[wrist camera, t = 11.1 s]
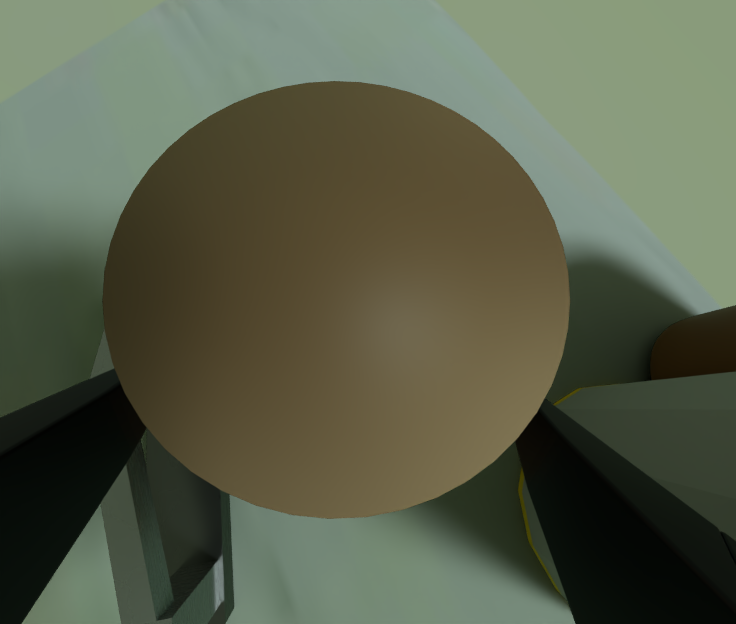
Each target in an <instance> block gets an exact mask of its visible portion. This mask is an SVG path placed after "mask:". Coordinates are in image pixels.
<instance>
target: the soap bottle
mask: <svg viewBox="0 0 736 624" xmlns="http://www.w3.org/2000/svg"><path fill="white" fill-rule="evenodd" d="M553 405H555V406H556V407H557V408H559V409H560V410H561V411H563V412H564V413H565V414H567V415H568V416H569V417H571V418H572V419H573V420H575V421H576V422H577V423H579V424H580V425H581V426H583V427H584V428H585V429H587V430H588V431H589V432H591V433H592V434H593V435H595V436H596V437H597V438H599V439H600V440H601V441H603V442H604V443H605V444H607V445H608V446H609V447H611V448H612V449H613V450H615V451H616V452H617V453H619V454H620V455H621V456H623V457H624V458H625V459H627V460H628V461H629V462H631V463H632V464H633V465H635V466H636V467H637V468H639V469H640V470H642V471H643V472H644V473H646V474H647V475H648V476H650V477H651V478H652V479H654V480H655V481H656V482H658V483H659V484H660V485H662V486H663V487H664V488H666V489H667V490H668V491H670V492H671V493H672V494H674V495H675V496H676V497H678V498H679V499H680V500H682V501H683V502H684V503H686V504H687V505H688V506H690V507H691V508H692V509H694V510H695V511H696V512H698V513H699V514H700V515H702V516H703V517H704V518H706V519H707V520H708V521H710V522H711V523H712V524H714V525H715V526H716V527H718V529H719V531H722V532H725V533H726V534H727V535H729V536H730V537H731V538H733V539H734V540H735V541H736V372H727V373H718V374H709V375H699V376H690V377H680V378H671V379H662V380H652V381H643V382H634V383H624V384H611V385H603V386H594V387H585V388H578V389H576V390H574V391H573V392H571V393H570V394H568V395H567V396H565V397H564V398H562V399H560V400H559V401H557V402H556V403H554V404H553ZM518 493H519V497H520V502H521V507H522V512H523V517H524V522H525V527H526V532H527V537H528V542H529V543H530V545H531V547H532V549H533V550H534V552H535V554H536V555H537V557H538V559H539V561H540V562H541V564H542V566H543V568H544V569H545V571H546V573H547V575H548V576H549V578H550V580H551V581H552V583H553V585H554V587H555V588H556V590H557V591H558V592H559V593H560V594H561V595H562V596H563V597H564V598H565V599H566V600H567V598H566V596H565V593H564V590H563V587H562V584H561V582H560V579H559V576H558V573H557V570H556V568H555V565H554V562H553V559H552V556H551V554H550V551H549V548H548V545H547V542H546V540H545V537H544V534H543V531H542V528H541V526H540V523H539V520H538V517H537V514H536V512H535V509H534V506H533V503H532V500H531V497H530V494H529V491H528V488H527V485H526V482H525V478H524V474H523V470H522V466H521V473H520V480H519V487H518Z"/></svg>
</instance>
